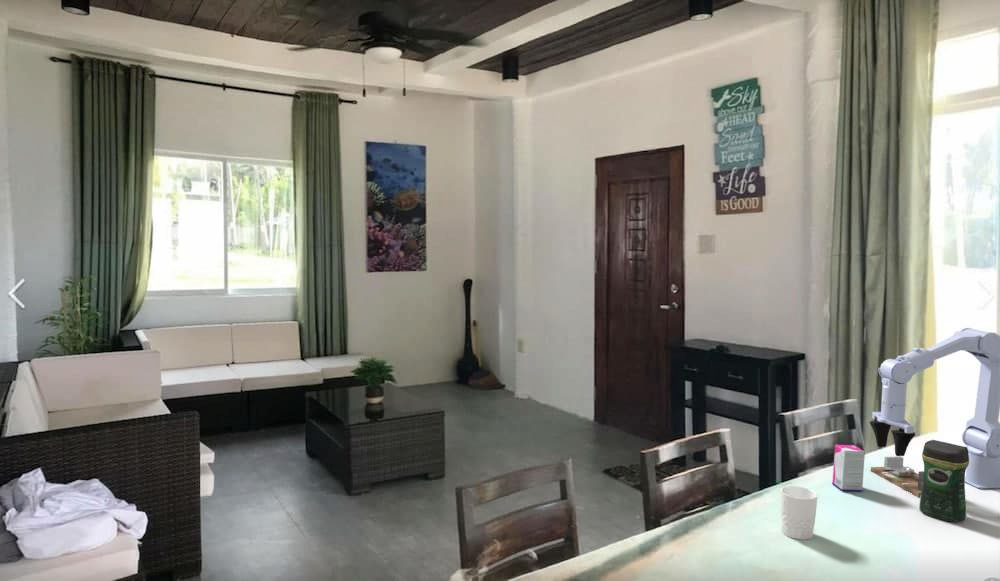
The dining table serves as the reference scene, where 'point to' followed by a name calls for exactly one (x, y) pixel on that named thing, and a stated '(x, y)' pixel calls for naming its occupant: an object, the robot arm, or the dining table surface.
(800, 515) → the white cup
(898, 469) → the brushed steel block
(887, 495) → the dining table surface
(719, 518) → the dining table surface
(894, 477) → the gauge frame
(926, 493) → the coffee jar
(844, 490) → the supplement box
